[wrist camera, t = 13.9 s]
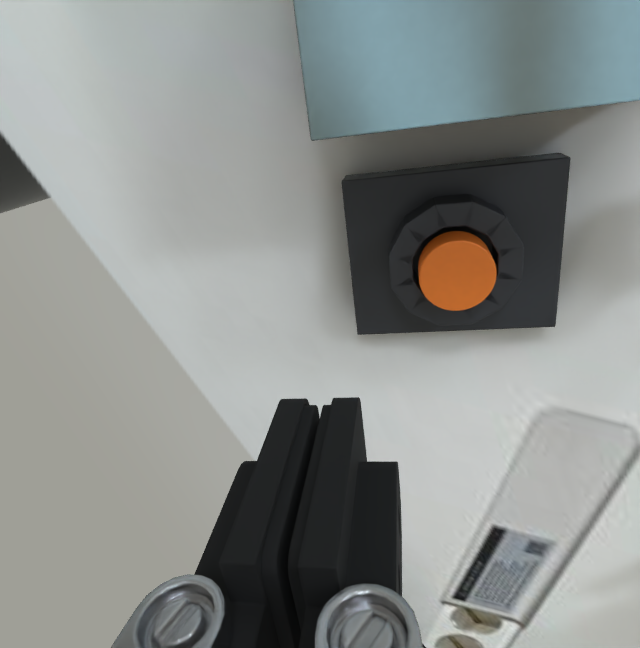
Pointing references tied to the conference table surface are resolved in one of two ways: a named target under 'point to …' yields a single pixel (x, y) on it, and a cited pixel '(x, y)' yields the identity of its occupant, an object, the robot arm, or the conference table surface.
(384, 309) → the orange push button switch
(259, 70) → the conference table surface
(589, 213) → the conference table surface
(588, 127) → the conference table surface
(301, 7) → the hatch
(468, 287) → the button
